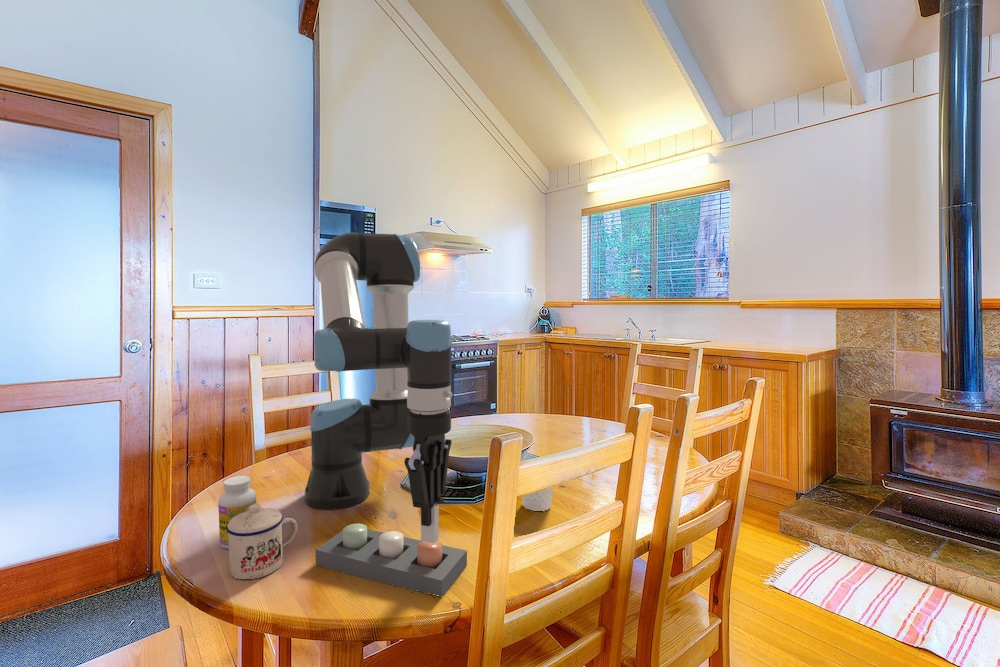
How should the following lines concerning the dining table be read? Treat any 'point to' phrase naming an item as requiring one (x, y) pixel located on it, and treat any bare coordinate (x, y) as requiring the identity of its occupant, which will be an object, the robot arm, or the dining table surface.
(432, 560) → the terracotta button
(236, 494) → the supplement bottle
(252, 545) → the teacup with lid
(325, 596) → the dining table surface
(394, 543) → the cream button
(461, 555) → the button console
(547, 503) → the white cup
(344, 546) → the sage button
